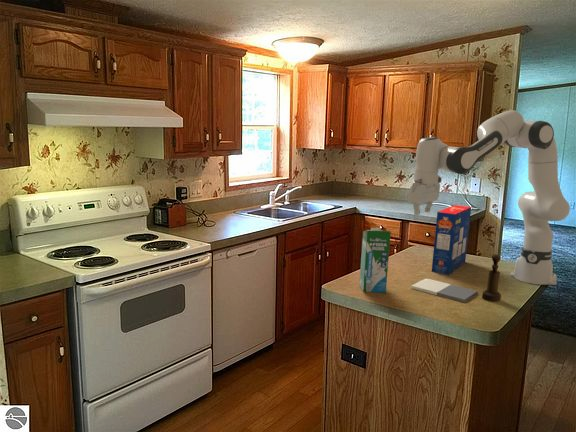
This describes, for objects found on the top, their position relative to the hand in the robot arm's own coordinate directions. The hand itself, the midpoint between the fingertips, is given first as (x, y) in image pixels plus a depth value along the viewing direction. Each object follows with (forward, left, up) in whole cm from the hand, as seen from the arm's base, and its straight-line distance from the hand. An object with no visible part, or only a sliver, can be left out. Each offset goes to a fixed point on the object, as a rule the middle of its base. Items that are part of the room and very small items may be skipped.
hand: (422, 213), depth 190 cm
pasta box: (-42, -3, -31) cm, 53 cm away
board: (-5, +10, -31) cm, 33 cm away
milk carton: (+14, -12, -31) cm, 36 cm away
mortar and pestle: (-10, +27, -31) cm, 43 cm away
